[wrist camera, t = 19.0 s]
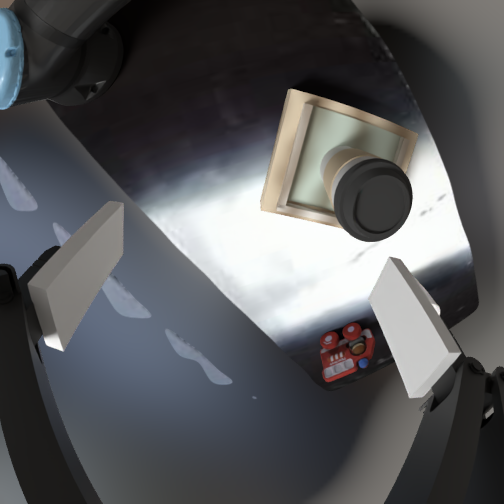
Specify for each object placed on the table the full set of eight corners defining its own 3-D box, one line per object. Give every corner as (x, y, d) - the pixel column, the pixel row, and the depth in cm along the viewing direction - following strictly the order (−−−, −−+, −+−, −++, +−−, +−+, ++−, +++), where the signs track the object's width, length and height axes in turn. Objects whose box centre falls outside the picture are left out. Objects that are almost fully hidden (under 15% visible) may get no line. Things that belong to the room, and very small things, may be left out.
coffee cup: (375, 142, 38) (429, 170, 25) (367, 201, 42) (410, 251, 29) (314, 135, 38) (346, 159, 25) (308, 197, 42) (333, 249, 29)
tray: (260, 200, 47) (261, 214, 42) (288, 89, 38) (293, 88, 33) (372, 227, 49) (383, 242, 44) (406, 130, 40) (423, 135, 35)
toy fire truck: (372, 334, 62) (385, 369, 53) (322, 354, 65) (329, 390, 56) (365, 315, 59) (379, 351, 50) (312, 337, 62) (319, 375, 53)
